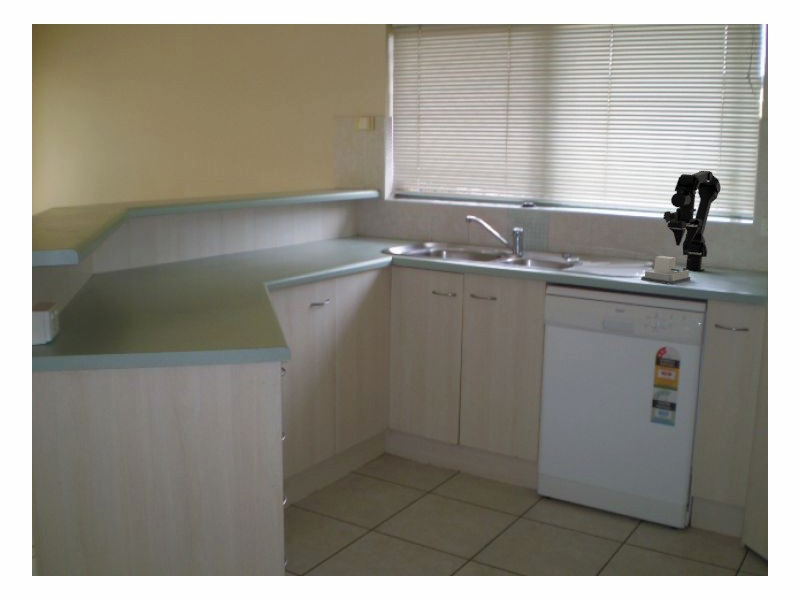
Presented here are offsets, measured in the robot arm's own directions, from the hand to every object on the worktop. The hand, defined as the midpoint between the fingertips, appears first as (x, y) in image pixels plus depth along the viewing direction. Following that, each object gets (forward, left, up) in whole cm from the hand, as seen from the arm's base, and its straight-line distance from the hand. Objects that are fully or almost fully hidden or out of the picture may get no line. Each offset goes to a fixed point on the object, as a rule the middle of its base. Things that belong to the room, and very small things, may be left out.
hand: (683, 244), depth 360 cm
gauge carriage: (+18, +6, -10) cm, 22 cm away
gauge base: (+17, +4, -12) cm, 21 cm away
